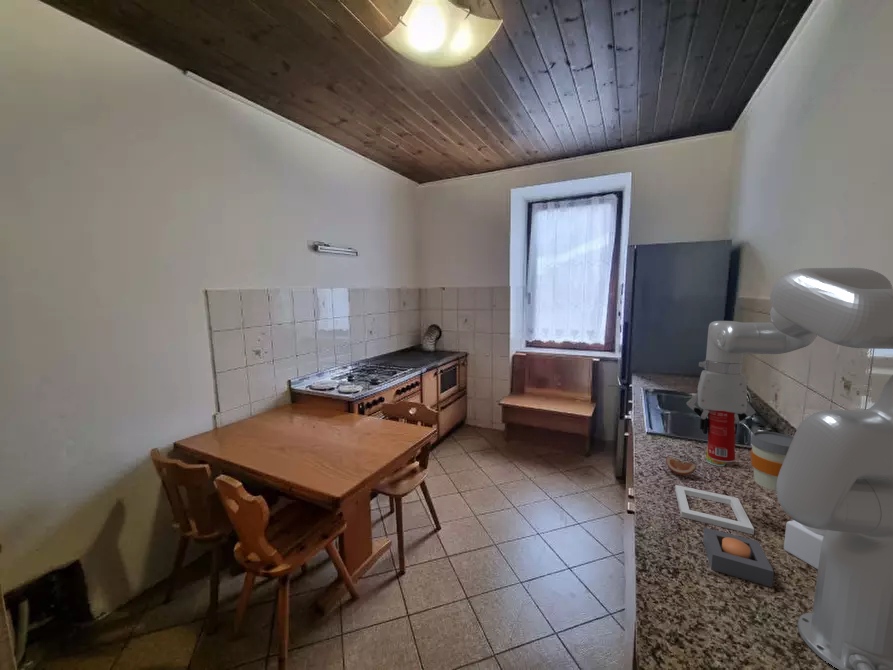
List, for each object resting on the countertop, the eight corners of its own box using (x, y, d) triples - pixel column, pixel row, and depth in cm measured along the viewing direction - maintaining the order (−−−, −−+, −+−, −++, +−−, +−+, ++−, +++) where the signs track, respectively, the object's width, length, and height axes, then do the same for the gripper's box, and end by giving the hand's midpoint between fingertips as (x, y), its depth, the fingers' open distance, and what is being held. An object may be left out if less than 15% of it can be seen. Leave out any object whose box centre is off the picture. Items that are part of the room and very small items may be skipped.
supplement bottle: (702, 461, 124) (704, 435, 123) (711, 458, 127) (713, 432, 125) (719, 468, 119) (722, 441, 118) (728, 464, 122) (731, 438, 121)
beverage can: (739, 464, 90) (744, 408, 89) (710, 461, 92) (715, 406, 90) (727, 454, 96) (731, 401, 95) (700, 452, 98) (704, 400, 96)
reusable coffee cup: (736, 477, 113) (741, 433, 112) (764, 472, 117) (769, 429, 115) (782, 498, 101) (788, 449, 100) (812, 492, 105) (818, 444, 103)
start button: (752, 566, 74) (753, 555, 74) (724, 558, 76) (725, 548, 76) (745, 551, 78) (747, 541, 78) (719, 544, 81) (720, 534, 80)
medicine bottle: (822, 572, 74) (829, 520, 73) (782, 549, 81) (788, 501, 80) (844, 566, 76) (851, 514, 75) (803, 543, 83) (809, 496, 82)
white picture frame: (753, 534, 86) (754, 529, 86) (681, 516, 93) (681, 511, 93) (737, 502, 100) (737, 497, 99) (675, 489, 106) (675, 484, 106)
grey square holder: (772, 587, 71) (773, 571, 70) (711, 569, 75) (712, 554, 75) (756, 555, 80) (758, 540, 79) (702, 540, 84) (704, 527, 84)
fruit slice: (697, 475, 115) (698, 461, 114) (692, 483, 110) (694, 468, 110) (668, 466, 121) (669, 452, 120) (662, 473, 116) (663, 459, 116)
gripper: (686, 367, 92) (681, 433, 94) (770, 373, 85) (763, 445, 87) (682, 362, 99) (677, 424, 101) (760, 368, 91) (753, 435, 93)
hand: (717, 433), depth 94 cm, fingers closed on beverage can, 4 cm apart
